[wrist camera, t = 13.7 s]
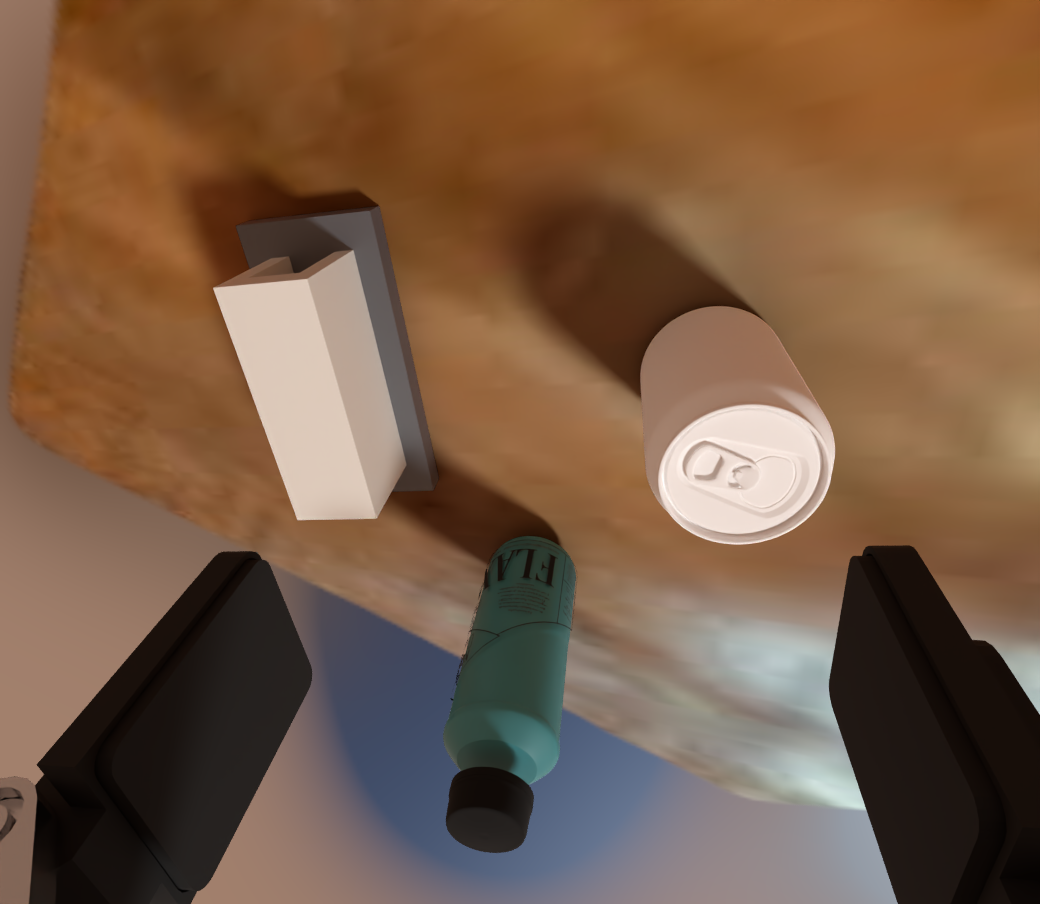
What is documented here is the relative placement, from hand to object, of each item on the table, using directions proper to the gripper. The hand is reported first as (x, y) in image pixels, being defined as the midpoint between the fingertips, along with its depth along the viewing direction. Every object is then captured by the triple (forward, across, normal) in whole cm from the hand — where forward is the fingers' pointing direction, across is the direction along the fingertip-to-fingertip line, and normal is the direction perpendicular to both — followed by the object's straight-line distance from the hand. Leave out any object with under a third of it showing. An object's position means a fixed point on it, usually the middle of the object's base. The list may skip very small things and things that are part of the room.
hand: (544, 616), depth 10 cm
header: (+28, +16, +6) cm, 33 cm away
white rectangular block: (+27, +16, +6) cm, 32 cm away
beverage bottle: (+28, +6, +22) cm, 36 cm away
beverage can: (+28, -6, +8) cm, 30 cm away
